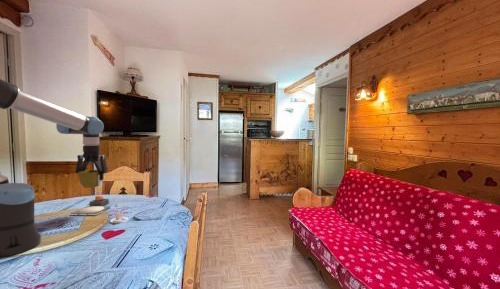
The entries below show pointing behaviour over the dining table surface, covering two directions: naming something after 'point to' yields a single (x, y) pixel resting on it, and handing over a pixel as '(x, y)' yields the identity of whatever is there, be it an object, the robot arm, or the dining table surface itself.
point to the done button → (99, 198)
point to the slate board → (91, 210)
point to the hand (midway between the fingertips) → (91, 185)
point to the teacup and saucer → (118, 218)
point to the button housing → (99, 202)
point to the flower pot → (89, 178)
